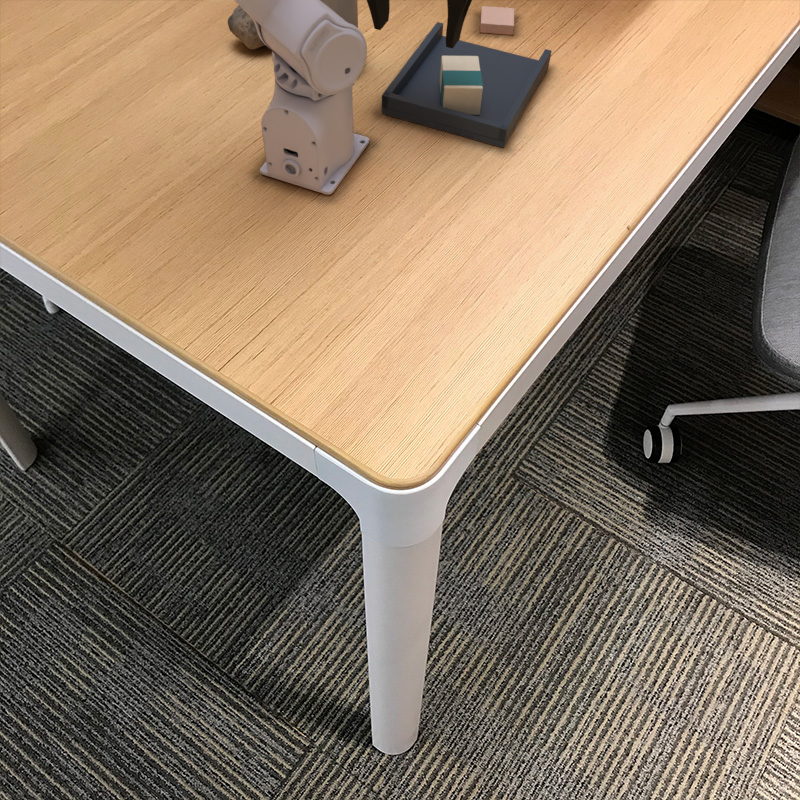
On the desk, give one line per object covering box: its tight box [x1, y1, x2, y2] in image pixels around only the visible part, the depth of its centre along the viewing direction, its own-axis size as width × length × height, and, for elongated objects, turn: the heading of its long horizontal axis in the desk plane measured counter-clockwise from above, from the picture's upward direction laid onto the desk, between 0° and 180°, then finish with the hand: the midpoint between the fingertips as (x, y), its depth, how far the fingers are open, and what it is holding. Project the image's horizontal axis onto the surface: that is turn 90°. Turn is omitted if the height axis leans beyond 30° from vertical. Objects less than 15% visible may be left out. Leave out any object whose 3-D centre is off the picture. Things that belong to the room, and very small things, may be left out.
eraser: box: [440, 56, 483, 115], centre depth 82 cm, size 4×6×3 cm
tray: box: [381, 21, 552, 149], centre depth 85 cm, size 16×14×2 cm
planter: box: [320, 0, 359, 29], centre depth 84 cm, size 4×4×10 cm
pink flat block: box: [479, 5, 515, 36], centre depth 93 cm, size 4×4×1 cm
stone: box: [227, 5, 266, 50], centre depth 88 cm, size 10×5×8 cm
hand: (416, 33), depth 76 cm, fingers open, 7 cm apart
